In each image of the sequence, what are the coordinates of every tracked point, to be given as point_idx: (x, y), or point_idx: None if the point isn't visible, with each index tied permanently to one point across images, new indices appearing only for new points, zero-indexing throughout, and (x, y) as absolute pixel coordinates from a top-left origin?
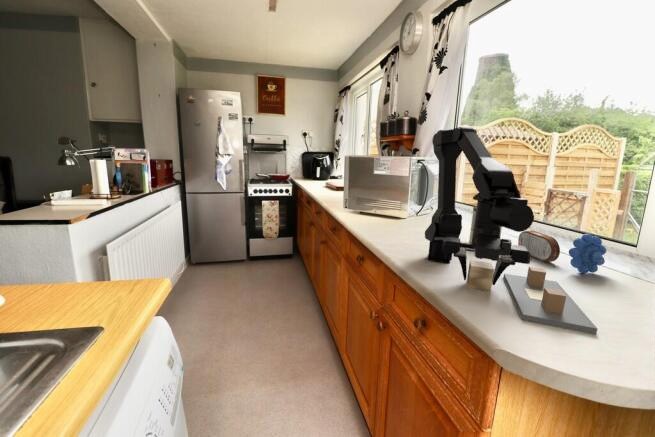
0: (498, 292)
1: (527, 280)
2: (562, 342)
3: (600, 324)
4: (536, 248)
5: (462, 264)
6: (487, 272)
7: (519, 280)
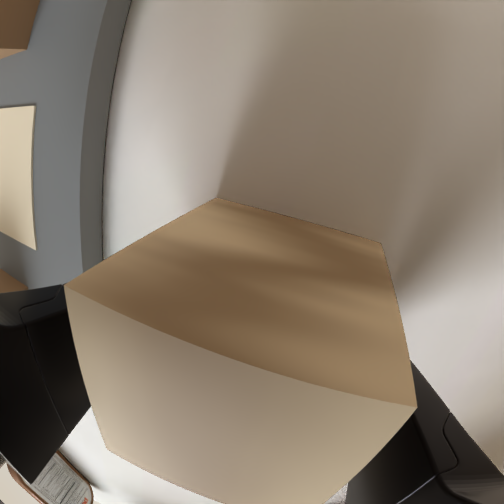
0: (160, 219)
1: None
2: None
3: None
4: (53, 475)
5: (465, 448)
6: (168, 284)
7: None
